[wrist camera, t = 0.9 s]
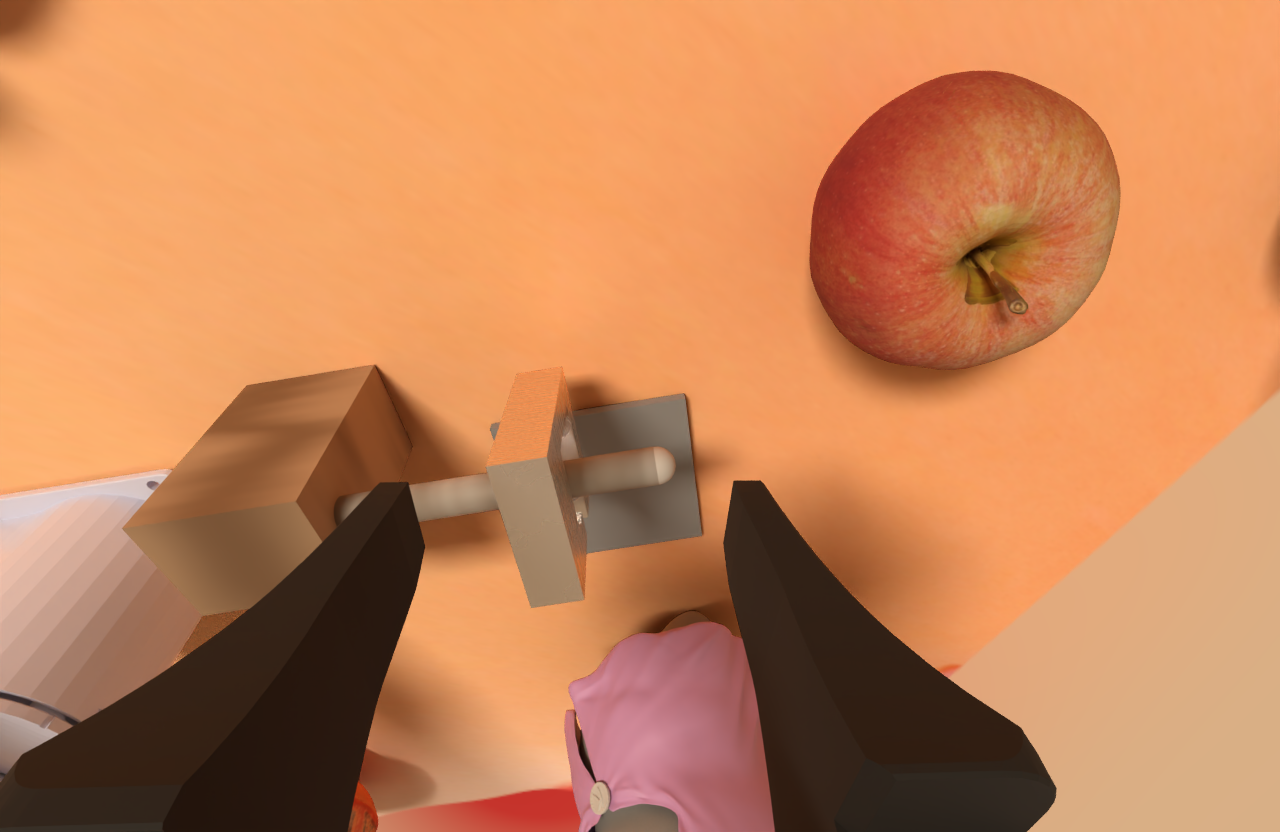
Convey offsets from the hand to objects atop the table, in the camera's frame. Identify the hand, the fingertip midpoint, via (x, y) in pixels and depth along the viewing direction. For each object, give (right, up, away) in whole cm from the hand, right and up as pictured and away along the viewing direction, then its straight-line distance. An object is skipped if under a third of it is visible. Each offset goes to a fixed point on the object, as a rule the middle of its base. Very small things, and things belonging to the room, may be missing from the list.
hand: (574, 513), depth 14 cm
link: (-2, +2, +8) cm, 9 cm away
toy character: (+2, -10, +21) cm, 23 cm away
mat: (0, -1, +13) cm, 13 cm away
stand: (-6, +3, +10) cm, 12 cm away
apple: (+10, +10, +7) cm, 16 cm away
